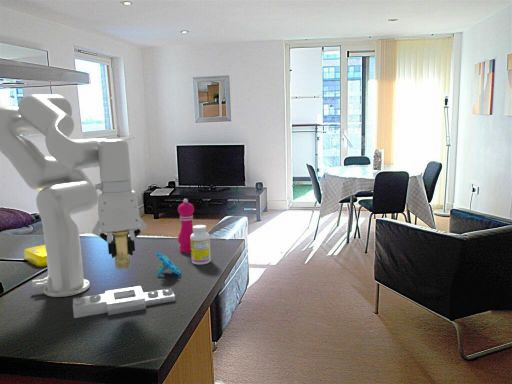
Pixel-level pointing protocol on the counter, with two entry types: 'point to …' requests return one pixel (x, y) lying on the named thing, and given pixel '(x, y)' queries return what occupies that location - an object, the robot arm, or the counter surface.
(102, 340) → the counter surface
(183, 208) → the pepper mill
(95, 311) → the white studded link plate
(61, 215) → the robot arm
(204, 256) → the supplement bottle
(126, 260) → the pin
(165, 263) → the gear
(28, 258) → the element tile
